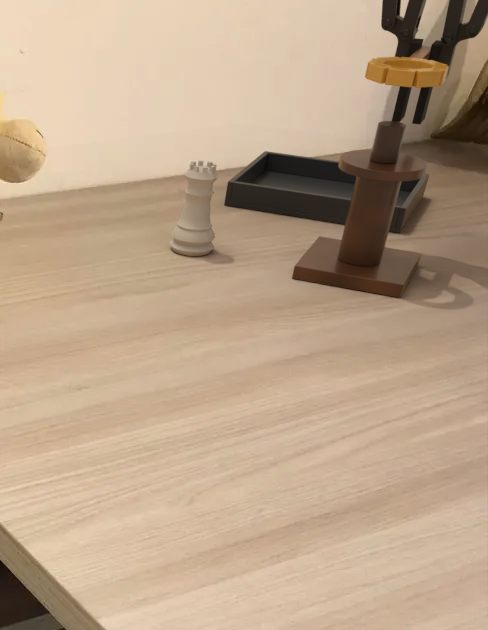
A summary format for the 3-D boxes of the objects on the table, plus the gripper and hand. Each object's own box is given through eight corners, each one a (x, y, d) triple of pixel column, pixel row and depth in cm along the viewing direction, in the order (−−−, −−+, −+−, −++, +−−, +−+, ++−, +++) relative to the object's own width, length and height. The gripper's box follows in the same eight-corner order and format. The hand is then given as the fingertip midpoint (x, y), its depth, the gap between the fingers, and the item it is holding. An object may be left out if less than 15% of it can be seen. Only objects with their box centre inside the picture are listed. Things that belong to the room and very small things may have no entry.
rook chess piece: (222, 252, 103) (236, 166, 98) (189, 260, 101) (202, 173, 96) (192, 239, 106) (204, 155, 101) (159, 247, 104) (170, 161, 99)
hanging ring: (437, 90, 86) (441, 74, 85) (359, 81, 88) (362, 66, 87) (460, 63, 95) (464, 48, 95) (389, 56, 98) (393, 41, 97)
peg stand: (418, 265, 101) (459, 119, 93) (399, 298, 94) (442, 143, 86) (316, 248, 105) (347, 106, 96) (291, 278, 98) (322, 128, 89)
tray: (423, 197, 119) (429, 173, 118) (399, 233, 109) (406, 208, 107) (261, 173, 126) (264, 150, 124) (224, 205, 115) (227, 181, 114)
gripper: (389, -203, 83) (324, 118, 98) (580, -200, 79) (481, 137, 94) (405, -201, 89) (341, 104, 104) (585, -199, 84) (491, 121, 99)
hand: (408, 119), depth 99 cm, fingers closed on hanging ring
